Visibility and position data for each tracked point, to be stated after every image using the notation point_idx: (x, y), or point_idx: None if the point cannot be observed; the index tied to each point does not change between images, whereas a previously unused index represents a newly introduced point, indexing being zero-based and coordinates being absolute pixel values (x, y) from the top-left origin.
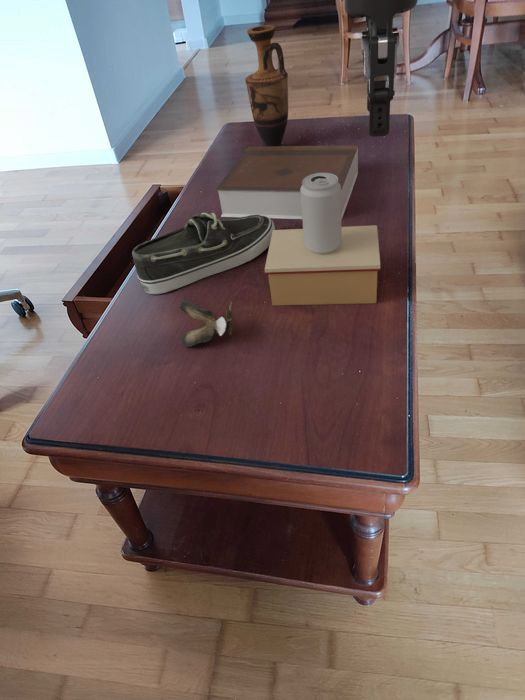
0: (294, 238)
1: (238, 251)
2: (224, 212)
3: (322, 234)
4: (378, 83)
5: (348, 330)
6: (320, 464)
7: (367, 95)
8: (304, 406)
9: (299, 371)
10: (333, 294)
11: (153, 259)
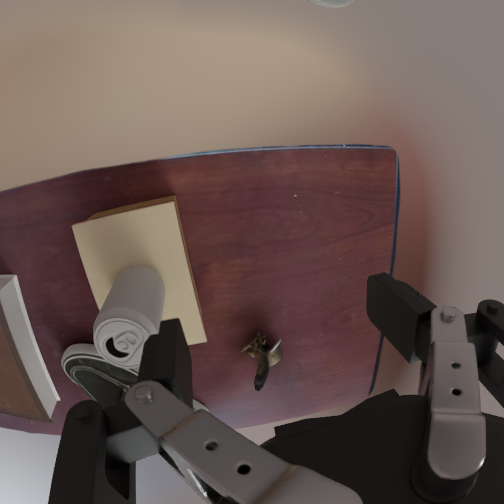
0: None
1: (134, 373)
2: (55, 399)
3: (161, 297)
4: (183, 387)
5: (231, 218)
6: (393, 212)
7: (191, 388)
8: (343, 237)
9: (301, 253)
10: (185, 249)
11: None
